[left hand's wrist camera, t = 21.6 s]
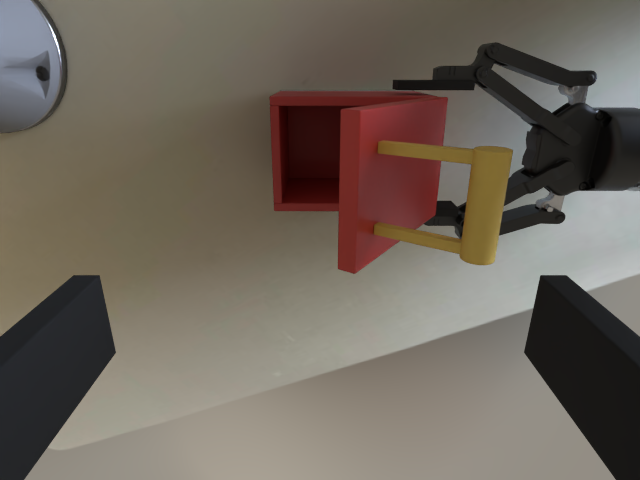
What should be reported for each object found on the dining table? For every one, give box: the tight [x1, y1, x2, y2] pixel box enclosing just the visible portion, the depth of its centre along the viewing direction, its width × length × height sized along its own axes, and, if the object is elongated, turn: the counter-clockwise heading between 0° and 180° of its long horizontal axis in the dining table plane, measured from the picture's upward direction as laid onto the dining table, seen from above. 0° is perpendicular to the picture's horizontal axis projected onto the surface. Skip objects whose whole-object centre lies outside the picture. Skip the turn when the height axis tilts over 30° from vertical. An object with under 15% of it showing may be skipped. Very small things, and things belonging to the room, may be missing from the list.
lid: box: [338, 97, 513, 274], centre depth 28 cm, size 14×10×9 cm
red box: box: [270, 90, 437, 211], centre depth 41 cm, size 14×10×10 cm
